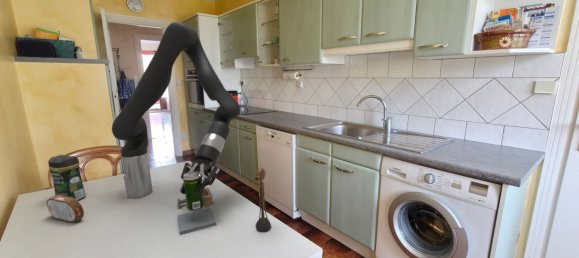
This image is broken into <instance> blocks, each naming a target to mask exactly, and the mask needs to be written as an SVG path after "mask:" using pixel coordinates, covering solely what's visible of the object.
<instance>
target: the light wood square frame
mask: <svg viewBox="0 0 579 258" xmlns="http://www.w3.org/2000/svg"><path fill="white" fill-rule="evenodd" d="M176 200H177V201H176V202H177V207H181V204H186V198H184V199H180V198H177V199H176ZM203 200H204V206H203V207H207V206H211V205H214V202H213V201H214V199H213V194H212V192H211V190H210V188H209V186H208V187H207V186H206V187H205V189H204V191H203Z"/></svg>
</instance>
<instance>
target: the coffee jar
mask: <svg viewBox="0 0 579 258" xmlns="http://www.w3.org/2000/svg"><path fill="white" fill-rule="evenodd" d="M47 162H48V169H49V170H50V171H49V172H50V174H51V179H52V182H53V183H52V184H53V190H54V196H55V195H62V196H67V197H72V198H74V199H76V200H77V201H78V202H80V201H81V200H82V199H84V198H85V197H86V195H87V194H86V190H85V187H84V183H83V179H82V175H81V170H80V169H81V168H80V160H79V158H78V156H75V155H63V154H59V155H55V156H52V157H50V159H48V161H47Z"/></svg>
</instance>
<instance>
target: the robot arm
mask: <svg viewBox="0 0 579 258" xmlns="http://www.w3.org/2000/svg"><path fill="white" fill-rule="evenodd" d="M182 52H184V53H185V55H186V56H187V57H188V58H189V59H190V61H191V63H192V65H193V67H194V70H195V73H196V77H197V79H198V81H199V84H200V86H201V87H202V89H203V90H204V92H205V94H206V95H207V97H208V99H209V100H210V101H213V102H214V101H215V102H217V104H218V105H219V106H218V107H217V108H216V110H215V112H214V115H213V117H212V121H211V124H210V126H209V128H208V131H207V133H206V135H205V136H204V138H203V139H202V141H201V143H200V145H199V147H198V149H197V151H196V153H195V157H194V158H195V160H194V161H193V162H191V163H189V162H185V163H184V164H183V165H184V166H183V169H182V172H181V175H180V179H181V180H183V177H184V174H185V173H188V172H192V171H197V172H199V173H200V177H201V179H200V184H199V185H198V187H197V189H196V191H195V193H194V195H195V196H197V197H200V195H202V193H203V191H204V189H205V188H207V186H212V185H213V184H214V182H215V181H216V179H217V177H218V175H220V172H221V169H220V168H219V167H218V166H215V165H217V163H218V160H219V158H220V156H221V154H222V151H223V149H224V146H225V142H226V140H227V138H228V136H229V133H230V124H231V123H230V122H231V121H233V120H235V119H236V118H238V117H239V116H240V114H241V107H240V104H239V101H237V100H236V99H235V98H234V97H233V95H232V94H231V93H230V92H229V91H228V90H226V87H225V86H224V85H223V83H222V81H221V79H220V78H219V76H218V75H217V73H216V71H215V69H214V67H213V65H212V64H211V62H210V60H209V58H208V56H207V54H206V52H205V50H204V47H203V45H202V43H201V40H200V37H199V35H198V33H197V31H196V30H195V28H193V27H192V26H190V25H189V24H186V23H183V22H180V21H174V22H171V23H169V24H168V25H167V27H166V28H165V30H164V32H163V35H162V37H161V39H160V42H159V44H158V46H157V48H156V52H155V53H154V55H153V57H152V58H151V60H150V61H149V63H148V65H147V67H146V69H145V71H144V72H143V74H142V75H141V77H140V79H139V81H138V83H137V84H136V87H135V88H134V90H133V92H132V93H131V94H130V97H129V99H128V100H127V103H126V104H125V105H124V107H123V108H122V110H121V111H120V112H119V113H118V115H117V116H116V118H115V119H114V120H113V122H112V125H111V133H112V136H113V137H114V138H115V139H117V140H120V141H125V143H124V145H123V146H122V147H121V149H120V156H121V162H122V168H123V181H124V188H125V192H126V198H127V199H130V198H131V199H137V198H143V197H146V196H148V195H150V194H151V193H153V191H154V190H153V185H152V184H153V183H152V177H151V169H150V163H149V156H148V155H149V154H148V145H149V136H148V127H147V123H146V120H145V119H144V118H143V116H144V115H145V114H146V112H148V111H149V110H150V109H152V107H153V106H154V105H156V103H157V102H159V100H160V99H161V98H162V97H163V96H164V94H165V93H166V90H167V89H168V87H169V86H170V83H171V81H172V80H171V79H172V74H173V67H174V64H175V62H176V60H177V59H178V57H179V56H180V55H181V53H182ZM179 191H180V193H181V194H182V195H185V189H184V182H183V183H182V185H181V187H180V189H179Z"/></svg>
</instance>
